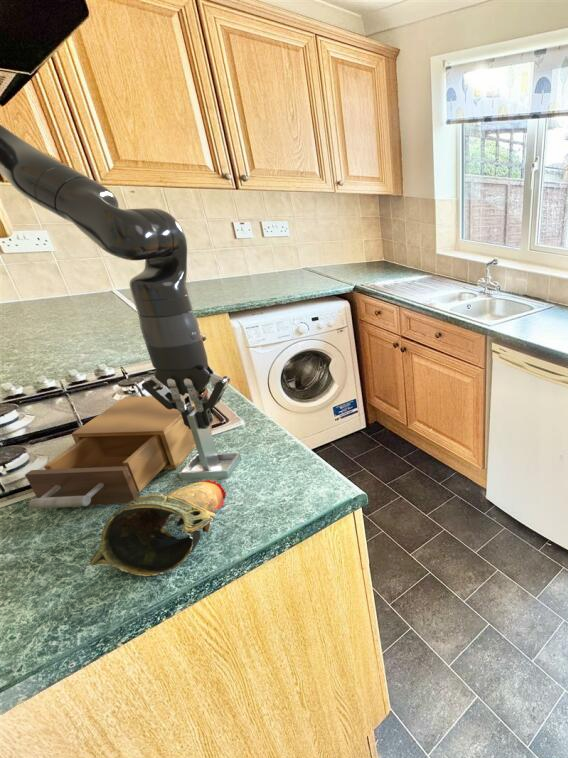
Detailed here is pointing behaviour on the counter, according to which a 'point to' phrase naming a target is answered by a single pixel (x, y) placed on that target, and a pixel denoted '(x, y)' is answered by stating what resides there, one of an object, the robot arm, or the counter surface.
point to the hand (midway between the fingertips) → (200, 426)
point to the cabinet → (143, 426)
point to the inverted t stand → (207, 456)
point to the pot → (158, 529)
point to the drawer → (98, 472)
